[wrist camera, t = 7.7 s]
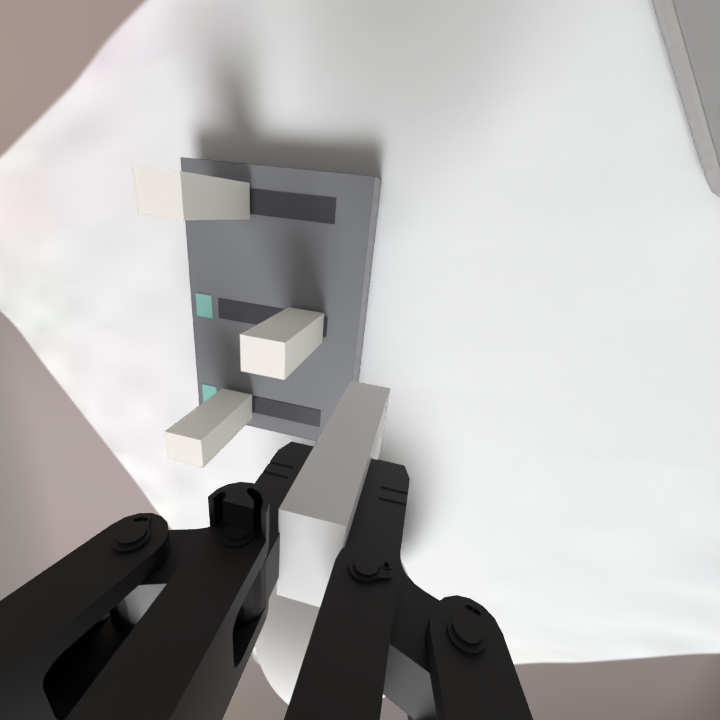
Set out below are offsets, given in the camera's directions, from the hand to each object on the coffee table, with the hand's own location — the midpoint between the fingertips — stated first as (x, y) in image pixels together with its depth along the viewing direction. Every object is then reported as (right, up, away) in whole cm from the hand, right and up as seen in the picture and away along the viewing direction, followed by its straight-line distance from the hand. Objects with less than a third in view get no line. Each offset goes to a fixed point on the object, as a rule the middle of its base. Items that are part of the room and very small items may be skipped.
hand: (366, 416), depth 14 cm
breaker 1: (-8, +12, +8) cm, 16 cm away
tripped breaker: (-4, +4, +10) cm, 11 cm away
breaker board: (-6, +6, +12) cm, 15 cm away
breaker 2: (-9, -1, +13) cm, 16 cm away
